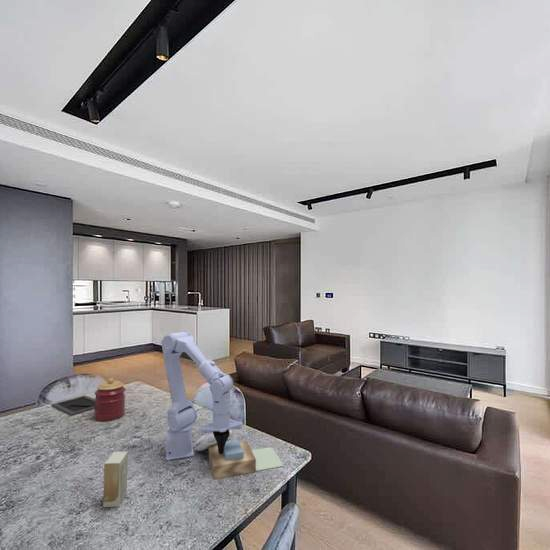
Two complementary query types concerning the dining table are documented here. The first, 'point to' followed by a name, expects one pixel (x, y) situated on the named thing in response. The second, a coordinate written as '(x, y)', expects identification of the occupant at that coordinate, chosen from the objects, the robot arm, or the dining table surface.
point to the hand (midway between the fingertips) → (220, 452)
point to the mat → (266, 459)
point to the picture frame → (75, 405)
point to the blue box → (233, 450)
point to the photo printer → (209, 441)
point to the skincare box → (115, 479)
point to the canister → (109, 400)
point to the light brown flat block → (231, 462)
